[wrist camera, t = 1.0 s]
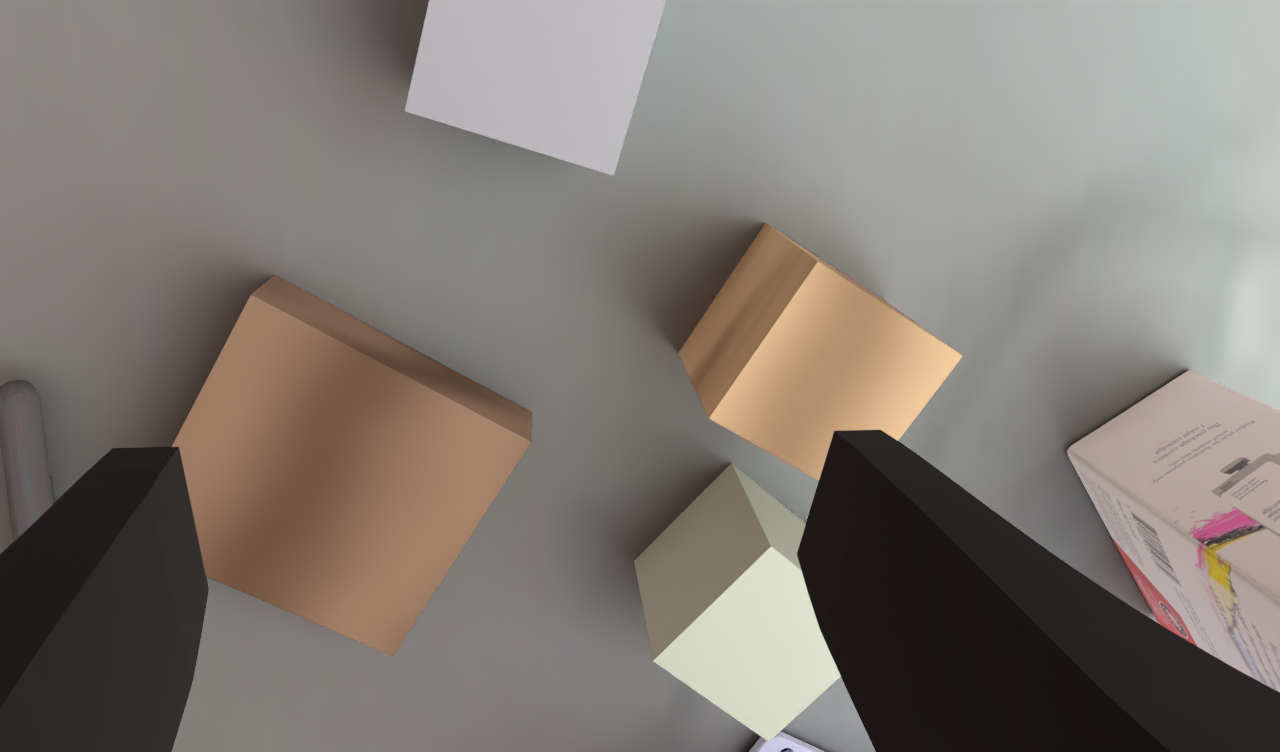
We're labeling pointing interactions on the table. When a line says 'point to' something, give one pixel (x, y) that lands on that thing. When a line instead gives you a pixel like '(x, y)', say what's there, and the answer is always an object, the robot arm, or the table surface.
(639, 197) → the table surface
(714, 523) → the sage block
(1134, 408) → the ink cartridge box
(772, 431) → the oak block
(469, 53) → the slate block
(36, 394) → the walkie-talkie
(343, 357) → the tan flat block
